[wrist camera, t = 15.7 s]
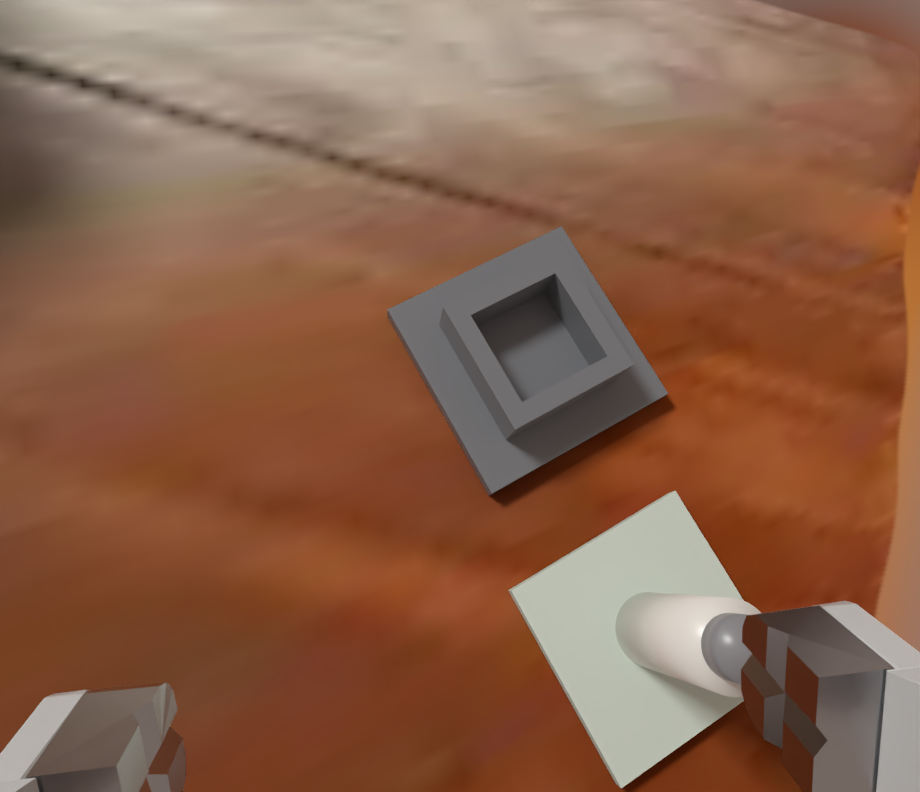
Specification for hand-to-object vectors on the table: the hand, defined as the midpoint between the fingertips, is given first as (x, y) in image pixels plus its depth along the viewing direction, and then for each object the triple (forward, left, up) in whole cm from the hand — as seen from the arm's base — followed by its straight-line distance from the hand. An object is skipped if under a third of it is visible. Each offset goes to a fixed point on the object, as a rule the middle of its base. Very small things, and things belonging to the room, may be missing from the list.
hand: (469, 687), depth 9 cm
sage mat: (+10, -7, -24) cm, 27 cm away
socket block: (+12, +8, -24) cm, 28 cm away
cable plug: (+10, -7, -23) cm, 26 cm away
